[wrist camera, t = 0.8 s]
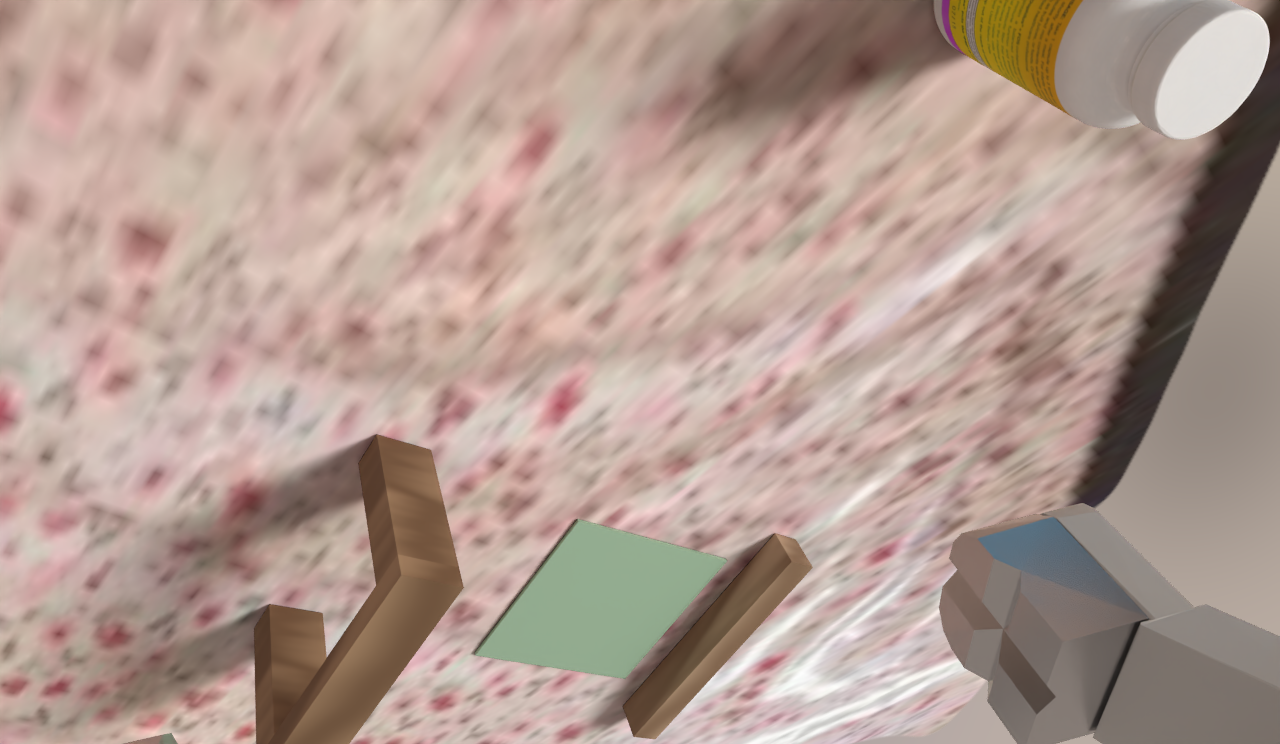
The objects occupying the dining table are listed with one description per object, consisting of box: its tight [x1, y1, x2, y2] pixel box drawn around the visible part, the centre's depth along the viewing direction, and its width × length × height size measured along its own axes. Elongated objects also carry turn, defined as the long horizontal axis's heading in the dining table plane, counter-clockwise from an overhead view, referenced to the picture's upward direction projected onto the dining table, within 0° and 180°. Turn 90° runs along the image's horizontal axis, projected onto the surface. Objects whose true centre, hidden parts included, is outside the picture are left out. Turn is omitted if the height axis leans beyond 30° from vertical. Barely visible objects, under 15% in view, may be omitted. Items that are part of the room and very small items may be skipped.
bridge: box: [254, 435, 464, 744], centre depth 47 cm, size 3×15×9 cm, turn 145°
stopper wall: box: [623, 533, 813, 739], centre depth 65 cm, size 2×18×2 cm, turn 145°
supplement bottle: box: [934, 0, 1270, 140], centre depth 38 cm, size 7×7×13 cm
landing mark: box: [475, 519, 727, 679], centre depth 61 cm, size 12×12×1 cm
